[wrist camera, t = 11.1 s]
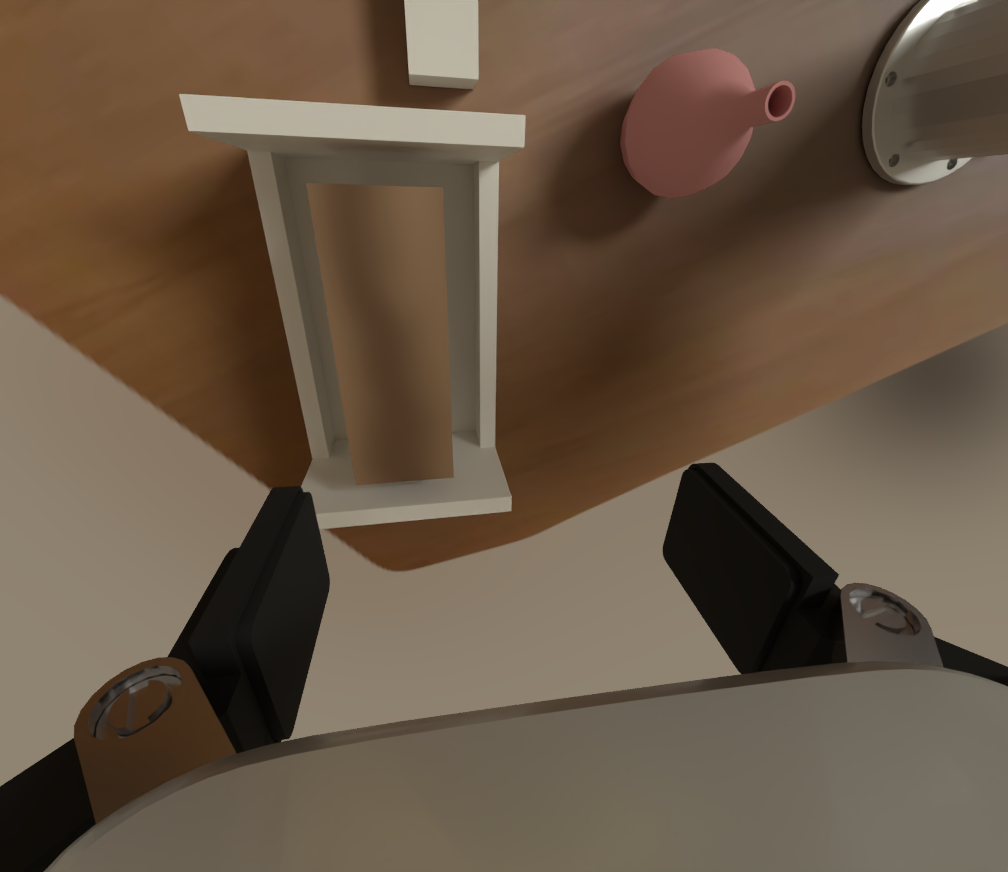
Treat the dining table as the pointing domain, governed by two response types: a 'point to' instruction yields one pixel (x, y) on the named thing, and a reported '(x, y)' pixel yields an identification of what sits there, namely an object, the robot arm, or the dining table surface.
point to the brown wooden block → (388, 325)
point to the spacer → (442, 42)
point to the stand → (294, 259)
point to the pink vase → (696, 121)
